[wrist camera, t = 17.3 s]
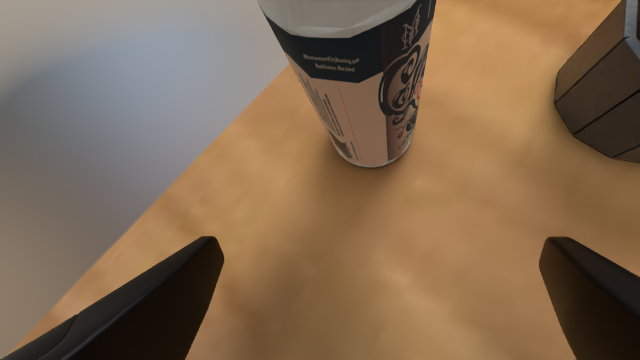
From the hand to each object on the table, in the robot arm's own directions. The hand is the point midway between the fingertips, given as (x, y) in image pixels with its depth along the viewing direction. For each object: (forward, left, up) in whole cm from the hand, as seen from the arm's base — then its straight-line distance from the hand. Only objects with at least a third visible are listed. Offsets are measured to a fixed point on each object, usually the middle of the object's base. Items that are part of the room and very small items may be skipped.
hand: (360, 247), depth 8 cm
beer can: (+7, -2, -8) cm, 11 cm away
